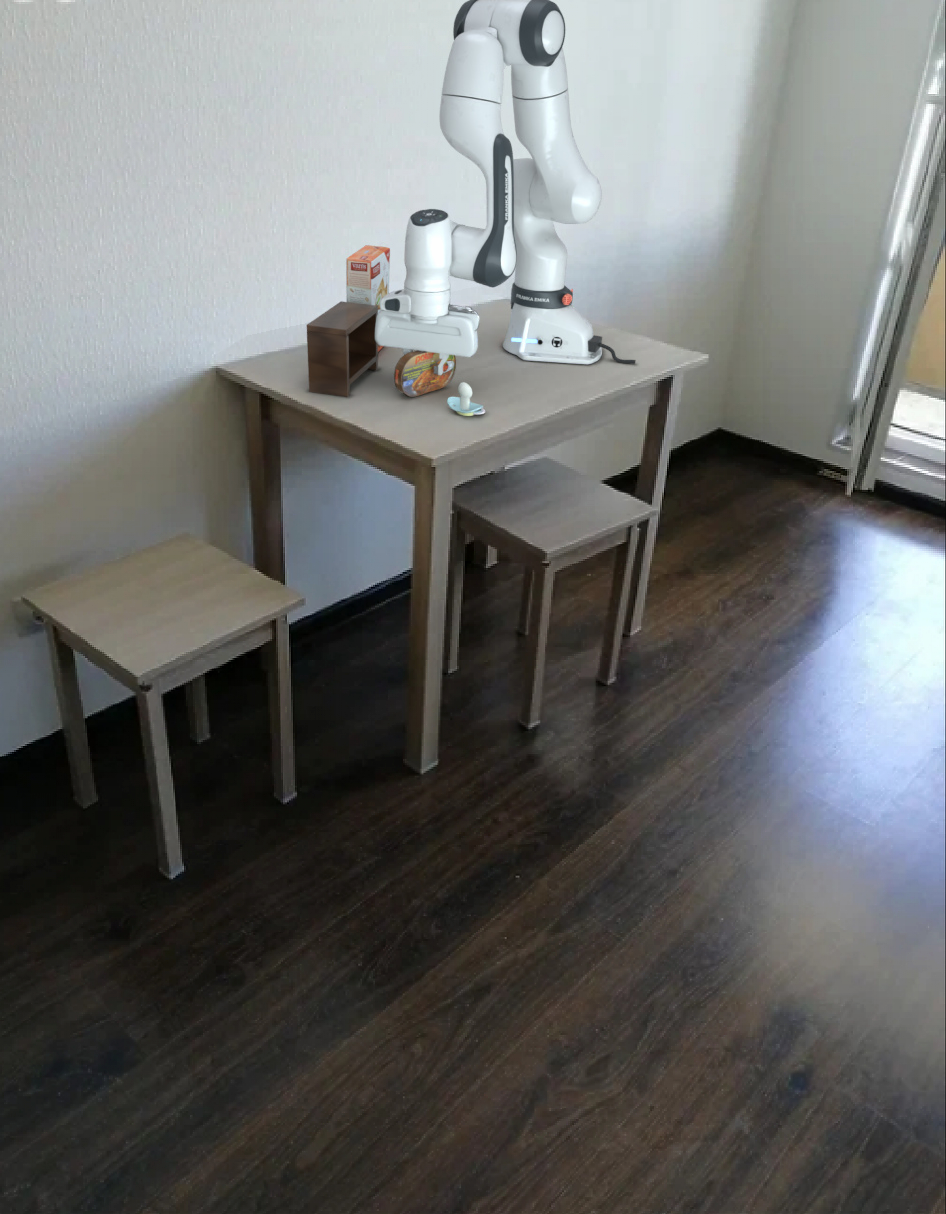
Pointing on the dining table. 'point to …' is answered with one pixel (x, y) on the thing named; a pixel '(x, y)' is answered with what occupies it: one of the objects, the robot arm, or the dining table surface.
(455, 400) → the pacifier
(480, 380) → the dining table surface
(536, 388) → the dining table surface
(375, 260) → the cracker box
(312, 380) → the brown hollow box
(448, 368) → the tin
